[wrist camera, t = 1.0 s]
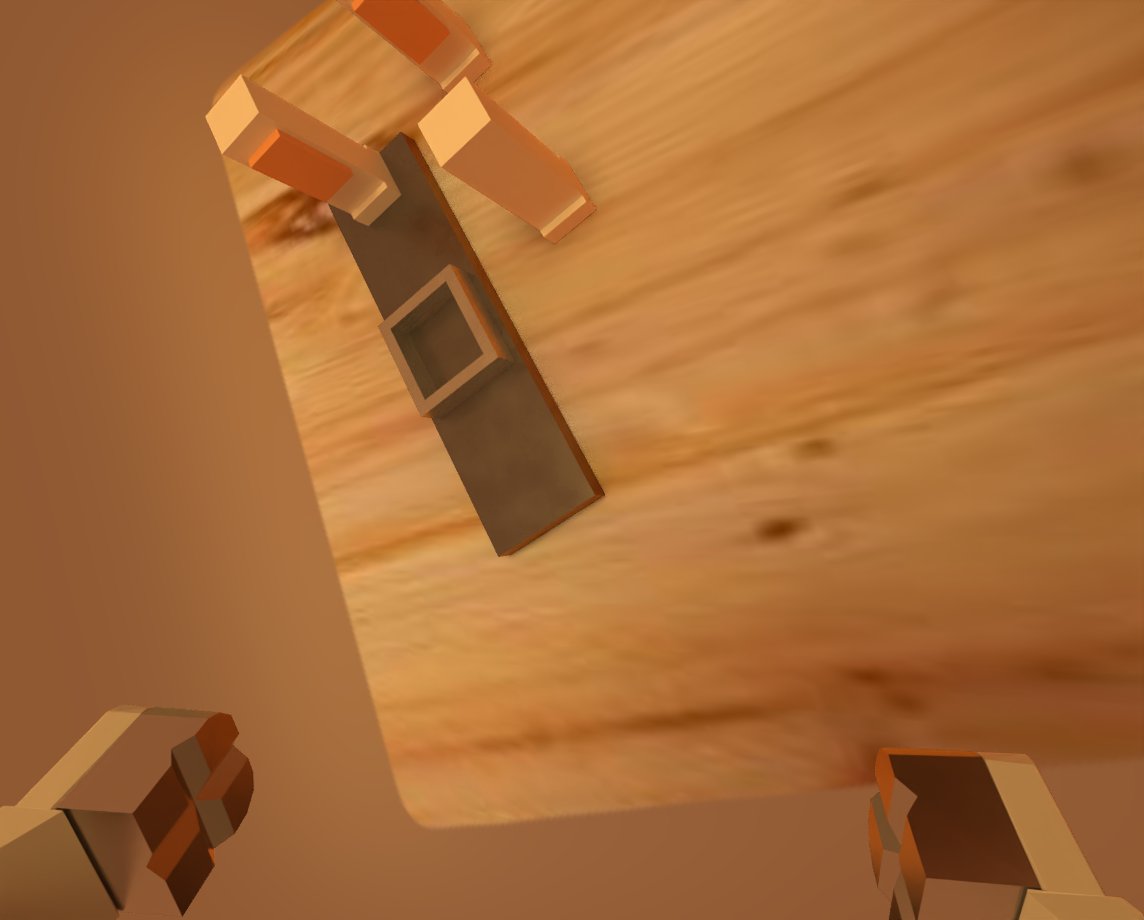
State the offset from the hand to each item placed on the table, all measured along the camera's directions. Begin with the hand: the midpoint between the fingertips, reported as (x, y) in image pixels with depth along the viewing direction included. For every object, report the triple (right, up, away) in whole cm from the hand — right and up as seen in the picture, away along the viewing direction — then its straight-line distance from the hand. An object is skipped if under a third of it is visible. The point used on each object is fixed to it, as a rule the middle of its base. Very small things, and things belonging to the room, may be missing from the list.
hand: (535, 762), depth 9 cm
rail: (-7, +12, +42) cm, 44 cm away
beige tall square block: (0, +21, +39) cm, 44 cm away
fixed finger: (-14, +24, +44) cm, 52 cm away
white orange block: (-7, +32, +42) cm, 54 cm away
